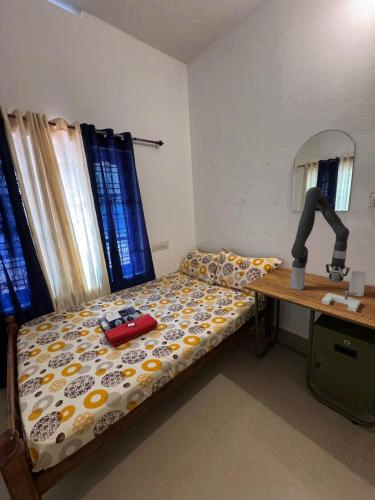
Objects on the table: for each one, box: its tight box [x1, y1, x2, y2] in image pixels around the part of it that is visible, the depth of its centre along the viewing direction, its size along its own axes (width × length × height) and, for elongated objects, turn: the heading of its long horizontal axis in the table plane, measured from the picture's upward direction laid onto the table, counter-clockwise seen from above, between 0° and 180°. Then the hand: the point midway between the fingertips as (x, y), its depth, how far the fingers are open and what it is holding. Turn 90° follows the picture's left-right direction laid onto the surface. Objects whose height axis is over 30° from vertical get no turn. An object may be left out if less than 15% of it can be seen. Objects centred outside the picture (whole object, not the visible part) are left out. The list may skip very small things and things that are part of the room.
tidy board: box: [321, 289, 361, 313], centre depth 139 cm, size 18×14×8 cm
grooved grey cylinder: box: [330, 271, 341, 283], centre depth 150 cm, size 5×5×6 cm
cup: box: [348, 269, 367, 297], centre depth 150 cm, size 8×8×16 cm
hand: (335, 279), depth 150 cm, fingers closed on grooved grey cylinder, 5 cm apart
